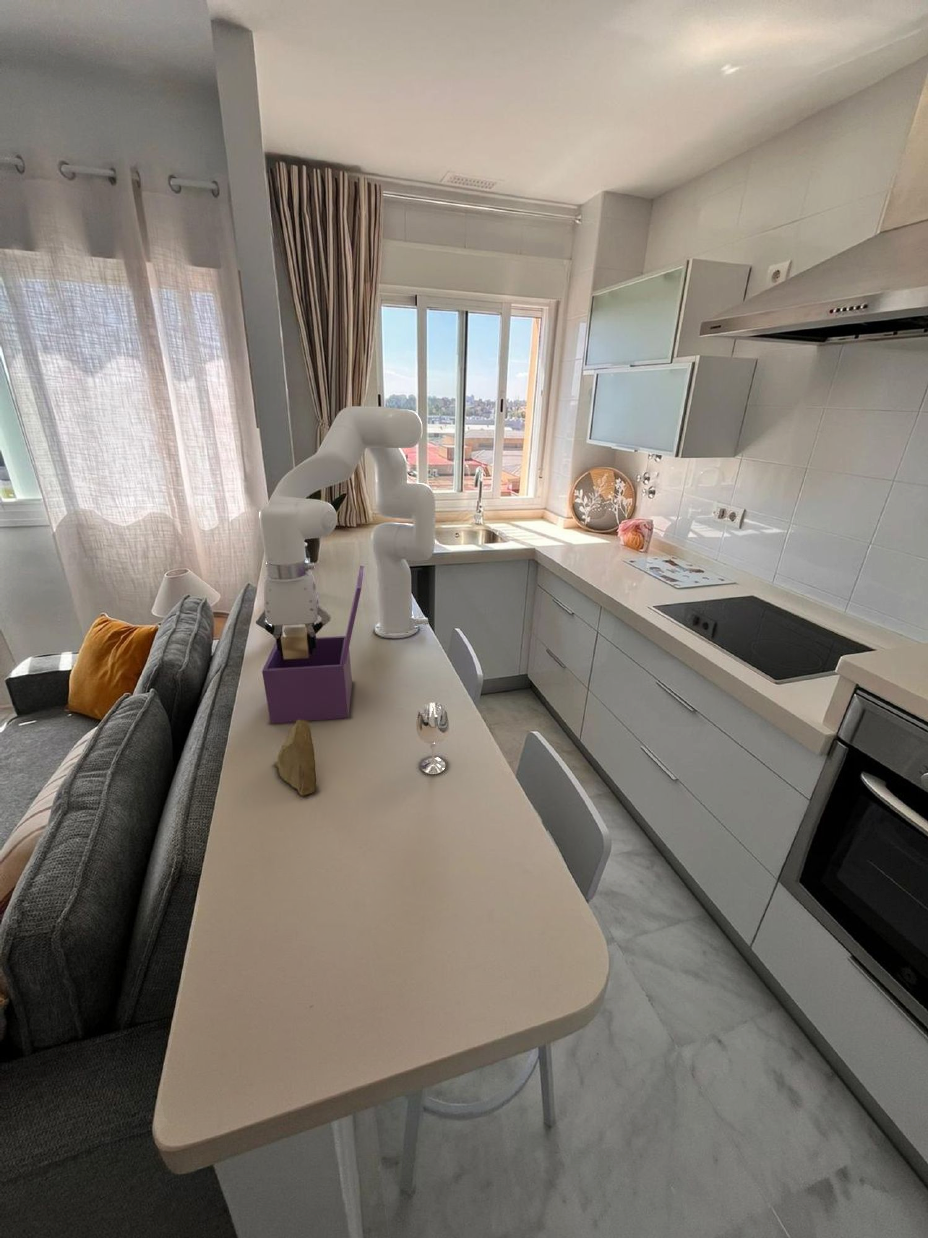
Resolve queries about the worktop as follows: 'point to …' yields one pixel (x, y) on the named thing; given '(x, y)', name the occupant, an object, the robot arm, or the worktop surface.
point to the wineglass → (432, 733)
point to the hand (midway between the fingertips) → (298, 651)
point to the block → (295, 643)
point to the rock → (298, 759)
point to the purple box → (309, 683)
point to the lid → (352, 614)
